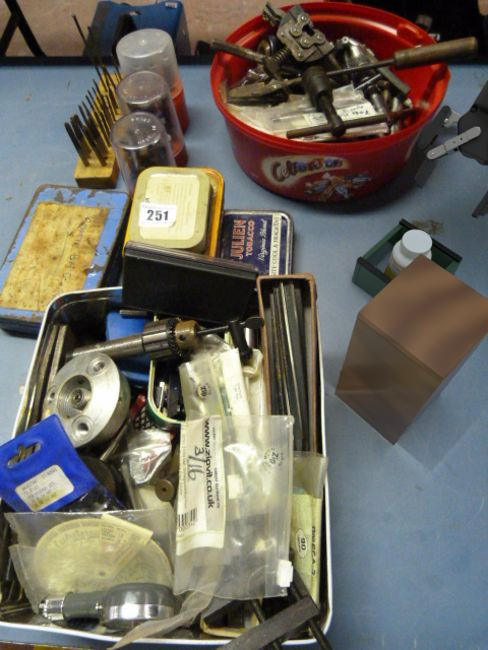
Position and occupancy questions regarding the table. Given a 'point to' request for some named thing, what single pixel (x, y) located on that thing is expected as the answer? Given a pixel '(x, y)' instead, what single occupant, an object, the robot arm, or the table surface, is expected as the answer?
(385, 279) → the tray
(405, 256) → the supplement bottle
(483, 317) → the brown rectangular block
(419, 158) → the table surface
